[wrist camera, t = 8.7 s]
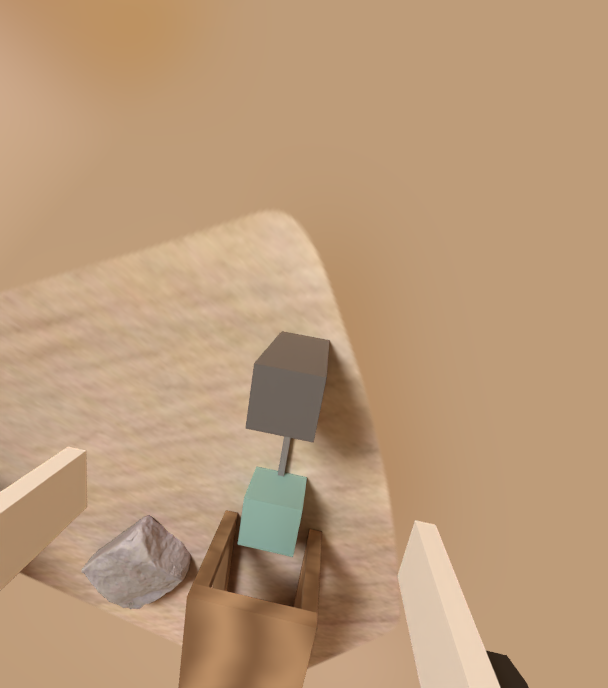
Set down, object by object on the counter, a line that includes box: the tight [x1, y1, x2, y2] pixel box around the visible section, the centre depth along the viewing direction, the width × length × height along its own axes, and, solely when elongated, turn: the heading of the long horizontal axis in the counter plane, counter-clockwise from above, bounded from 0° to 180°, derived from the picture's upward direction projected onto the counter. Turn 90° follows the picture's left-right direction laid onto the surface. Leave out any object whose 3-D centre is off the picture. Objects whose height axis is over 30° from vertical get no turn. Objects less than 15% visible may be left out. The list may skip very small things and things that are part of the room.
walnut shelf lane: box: [179, 510, 322, 688], centre depth 34 cm, size 12×16×10 cm
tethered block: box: [238, 332, 330, 557], centre depth 29 cm, size 6×22×11 cm, turn 170°
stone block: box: [82, 515, 191, 609], centre depth 39 cm, size 12×5×10 cm
